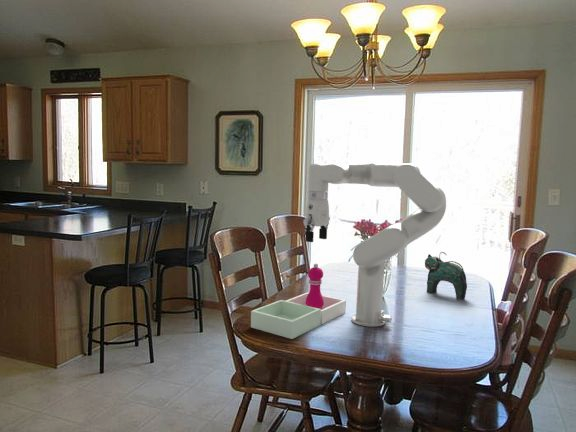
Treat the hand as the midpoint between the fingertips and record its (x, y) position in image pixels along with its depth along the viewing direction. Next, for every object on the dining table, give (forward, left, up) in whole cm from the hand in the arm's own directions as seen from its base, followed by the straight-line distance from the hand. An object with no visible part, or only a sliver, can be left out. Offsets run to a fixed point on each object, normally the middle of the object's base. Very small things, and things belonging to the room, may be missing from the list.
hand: (316, 240), depth 181 cm
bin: (0, +19, -29) cm, 35 cm away
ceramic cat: (-32, -62, -29) cm, 76 cm away
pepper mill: (0, 0, -29) cm, 29 cm away
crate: (0, 0, -29) cm, 29 cm away
